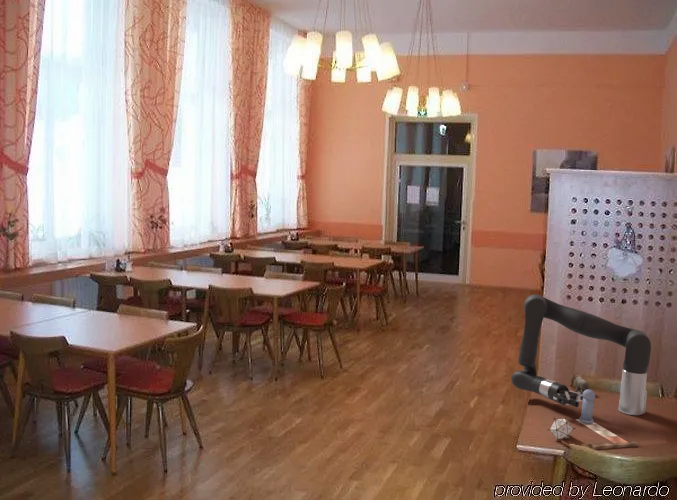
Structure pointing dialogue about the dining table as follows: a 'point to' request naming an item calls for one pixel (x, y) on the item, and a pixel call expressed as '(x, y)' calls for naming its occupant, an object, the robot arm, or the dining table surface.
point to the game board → (608, 435)
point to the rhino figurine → (581, 383)
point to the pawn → (587, 407)
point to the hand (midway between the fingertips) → (586, 403)
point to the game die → (561, 429)
